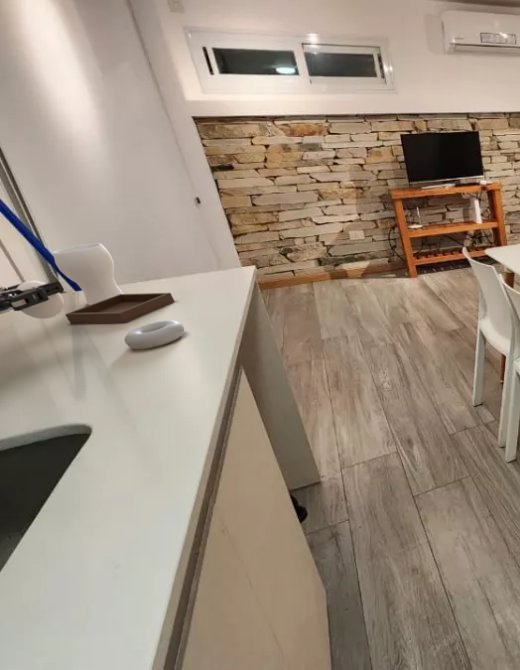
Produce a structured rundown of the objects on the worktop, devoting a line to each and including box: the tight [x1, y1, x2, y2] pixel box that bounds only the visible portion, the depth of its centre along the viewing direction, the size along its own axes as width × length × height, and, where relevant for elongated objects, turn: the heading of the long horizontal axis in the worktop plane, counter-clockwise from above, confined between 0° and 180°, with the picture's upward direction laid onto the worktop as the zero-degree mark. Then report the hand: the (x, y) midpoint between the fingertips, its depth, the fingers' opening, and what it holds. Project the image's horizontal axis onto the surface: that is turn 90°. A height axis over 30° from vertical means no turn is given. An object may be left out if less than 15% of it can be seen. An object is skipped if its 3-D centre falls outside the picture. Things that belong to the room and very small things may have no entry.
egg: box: [14, 280, 65, 320], centre depth 96 cm, size 6×6×8 cm
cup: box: [52, 242, 124, 306], centre depth 129 cm, size 11×11×15 cm
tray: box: [64, 292, 176, 325], centre depth 122 cm, size 16×14×3 cm
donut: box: [124, 319, 185, 350], centre depth 103 cm, size 10×4×10 cm
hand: (46, 286), depth 98 cm, fingers closed on egg, 6 cm apart
